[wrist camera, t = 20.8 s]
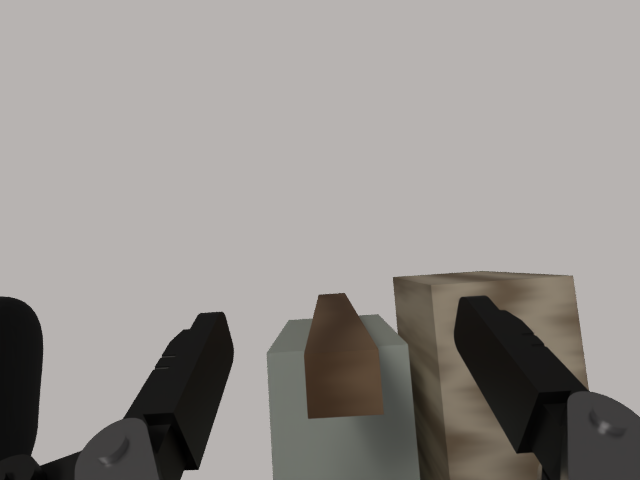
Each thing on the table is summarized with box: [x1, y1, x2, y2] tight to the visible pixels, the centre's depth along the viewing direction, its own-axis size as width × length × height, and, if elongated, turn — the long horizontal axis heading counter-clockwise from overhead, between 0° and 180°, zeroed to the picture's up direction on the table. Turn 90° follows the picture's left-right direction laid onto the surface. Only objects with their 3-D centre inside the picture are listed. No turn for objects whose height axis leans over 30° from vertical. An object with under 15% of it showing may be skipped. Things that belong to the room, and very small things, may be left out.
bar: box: [304, 293, 384, 419], centre depth 23 cm, size 3×22×2 cm, turn 179°
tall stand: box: [393, 271, 589, 480], centre depth 25 cm, size 10×12×32 cm
